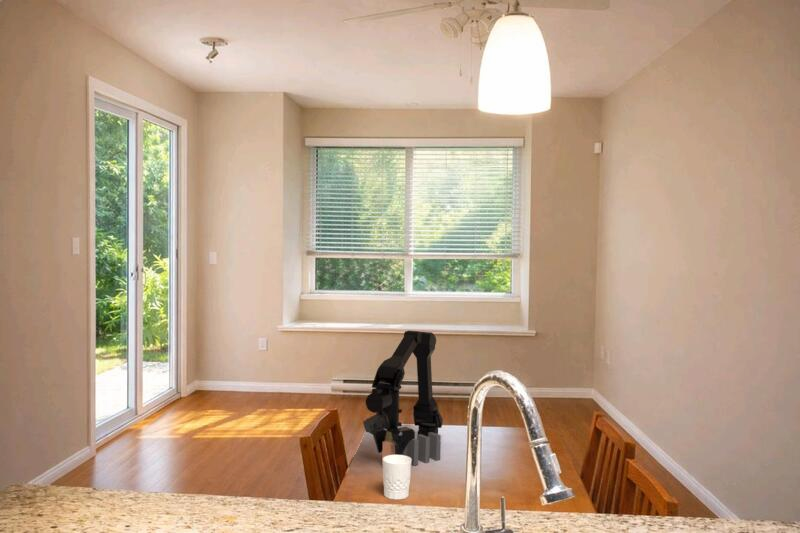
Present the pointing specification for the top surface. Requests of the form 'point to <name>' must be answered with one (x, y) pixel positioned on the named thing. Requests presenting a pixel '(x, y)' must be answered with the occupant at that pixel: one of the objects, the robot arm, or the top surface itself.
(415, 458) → the grey rectangular block
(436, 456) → the gray rectangular block
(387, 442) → the terracotta domino
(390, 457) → the white cup
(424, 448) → the grey domino
